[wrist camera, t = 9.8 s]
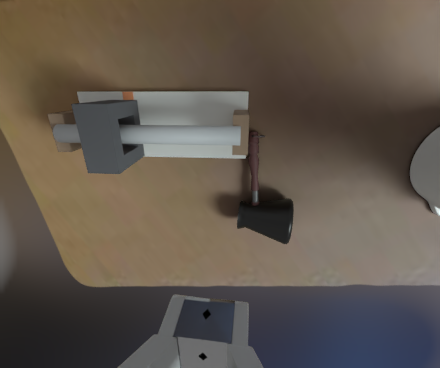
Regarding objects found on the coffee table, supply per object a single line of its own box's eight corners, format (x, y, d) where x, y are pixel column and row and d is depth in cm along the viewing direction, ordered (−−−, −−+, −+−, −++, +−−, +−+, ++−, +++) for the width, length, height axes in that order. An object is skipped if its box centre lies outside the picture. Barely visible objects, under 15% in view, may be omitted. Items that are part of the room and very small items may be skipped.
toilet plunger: (286, 231, 43) (241, 225, 45) (300, 133, 38) (249, 130, 40) (288, 253, 36) (234, 244, 38) (306, 136, 31) (243, 131, 33)
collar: (137, 99, 32) (106, 104, 25) (144, 155, 35) (119, 173, 28) (109, 99, 32) (71, 104, 25) (119, 154, 36) (88, 173, 28)
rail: (248, 91, 34) (251, 93, 25) (245, 156, 38) (247, 177, 29) (81, 91, 36) (31, 93, 27) (95, 153, 40) (55, 172, 31)
